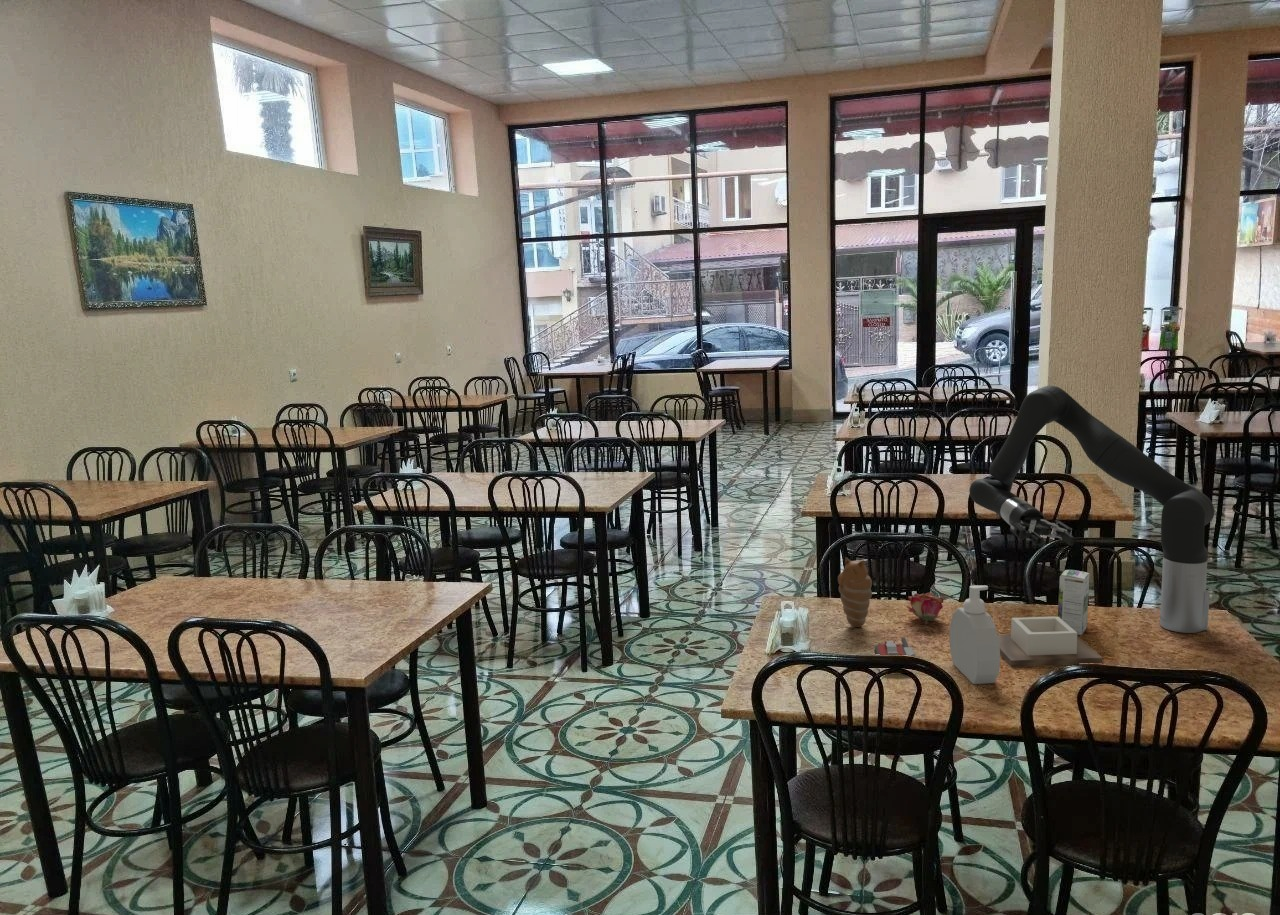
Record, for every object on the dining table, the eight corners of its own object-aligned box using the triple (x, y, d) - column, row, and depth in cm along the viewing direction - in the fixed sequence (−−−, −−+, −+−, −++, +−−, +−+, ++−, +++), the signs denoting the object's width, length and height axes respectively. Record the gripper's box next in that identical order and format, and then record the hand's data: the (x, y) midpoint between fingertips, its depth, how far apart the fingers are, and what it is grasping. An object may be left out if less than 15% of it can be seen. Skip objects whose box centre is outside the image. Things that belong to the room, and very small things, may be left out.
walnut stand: (1072, 638, 224) (1072, 632, 224) (1102, 664, 208) (1102, 657, 208) (987, 640, 225) (987, 634, 225) (1010, 666, 209) (1011, 660, 209)
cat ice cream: (833, 628, 238) (832, 559, 235) (848, 619, 244) (847, 552, 241) (864, 635, 232) (864, 565, 229) (879, 625, 238) (879, 557, 235)
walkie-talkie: (920, 677, 207) (907, 644, 226) (920, 658, 206) (907, 626, 226) (880, 677, 208) (870, 644, 228) (880, 658, 207) (870, 626, 227)
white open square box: (1057, 636, 221) (1058, 616, 221) (1076, 653, 211) (1077, 632, 210) (1011, 638, 222) (1011, 617, 221) (1027, 655, 211) (1028, 634, 210)
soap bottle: (1001, 687, 199) (1003, 597, 196) (977, 689, 199) (978, 599, 195) (971, 658, 215) (972, 575, 211) (948, 660, 214) (949, 576, 211)
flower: (949, 622, 233) (949, 592, 236) (913, 617, 233) (913, 586, 236) (935, 632, 242) (935, 602, 245) (900, 626, 242) (901, 597, 245)
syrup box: (1061, 624, 233) (1063, 568, 230) (1087, 628, 229) (1089, 571, 227) (1056, 632, 228) (1058, 574, 226) (1083, 636, 225) (1085, 578, 222)
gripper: (999, 503, 246) (1034, 529, 231) (1048, 502, 249) (1086, 527, 234) (994, 529, 249) (1028, 556, 234) (1042, 528, 251) (1079, 554, 237)
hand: (1057, 542), depth 234 cm, fingers open, 8 cm apart
